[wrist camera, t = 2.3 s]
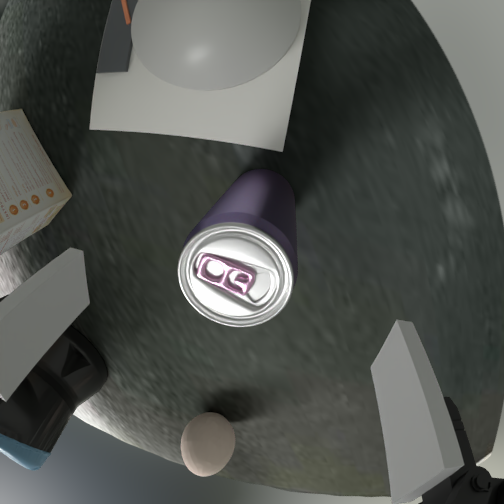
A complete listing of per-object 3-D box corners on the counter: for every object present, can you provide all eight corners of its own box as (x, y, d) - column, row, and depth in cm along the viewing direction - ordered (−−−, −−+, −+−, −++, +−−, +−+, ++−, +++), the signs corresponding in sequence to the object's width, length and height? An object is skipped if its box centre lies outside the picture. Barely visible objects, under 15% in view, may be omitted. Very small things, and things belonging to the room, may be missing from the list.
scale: (106, 127, 26) (83, 130, 22) (146, -52, 17) (130, -67, 13) (283, 148, 25) (282, 153, 22) (319, -51, 16) (322, -71, 12)
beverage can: (244, 157, 26) (195, 198, 13) (305, 184, 27) (321, 254, 13) (221, 214, 29) (161, 301, 15) (278, 239, 29) (265, 345, 16)
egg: (182, 412, 44) (162, 468, 33) (208, 394, 40) (188, 458, 30) (221, 432, 45) (208, 487, 35) (250, 417, 42) (239, 479, 31)
